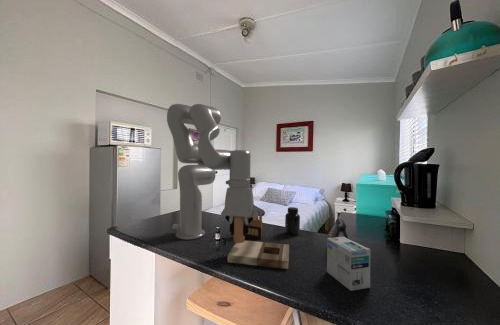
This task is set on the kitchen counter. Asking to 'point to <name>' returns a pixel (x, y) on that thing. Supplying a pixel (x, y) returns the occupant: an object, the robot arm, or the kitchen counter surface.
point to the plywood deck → (260, 254)
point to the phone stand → (339, 229)
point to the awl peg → (239, 229)
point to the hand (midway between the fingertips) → (239, 234)
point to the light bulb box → (348, 263)
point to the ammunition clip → (256, 228)
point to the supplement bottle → (292, 222)
